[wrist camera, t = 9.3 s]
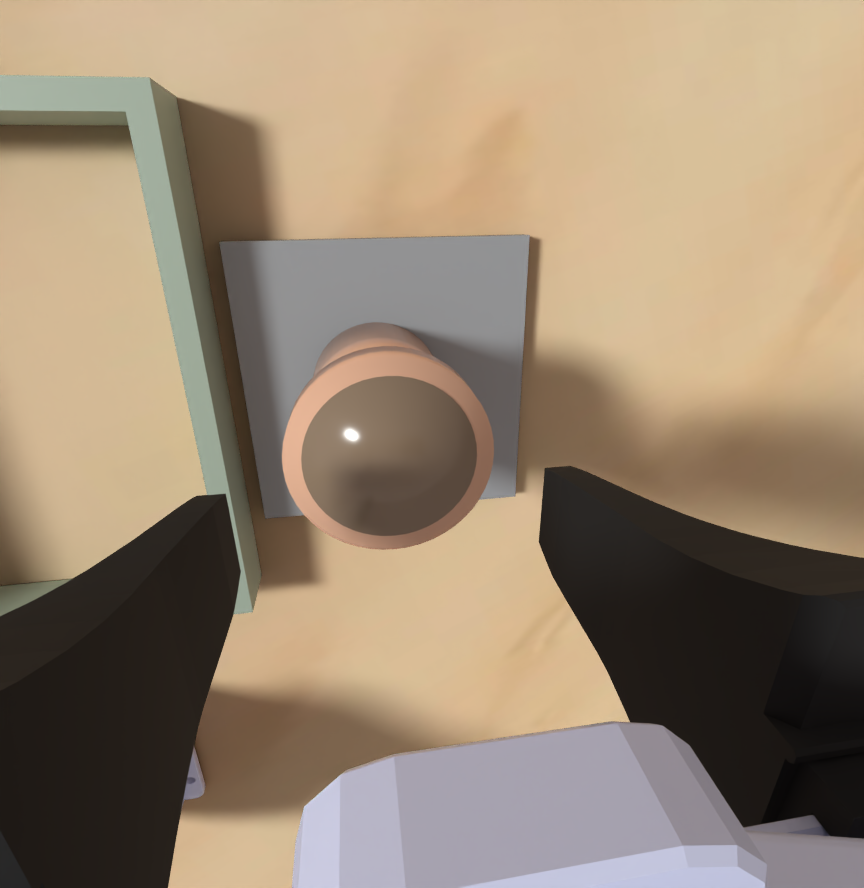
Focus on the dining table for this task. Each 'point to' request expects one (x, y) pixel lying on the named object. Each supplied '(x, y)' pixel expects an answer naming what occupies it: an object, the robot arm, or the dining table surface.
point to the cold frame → (179, 268)
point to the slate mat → (377, 300)
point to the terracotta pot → (386, 441)
